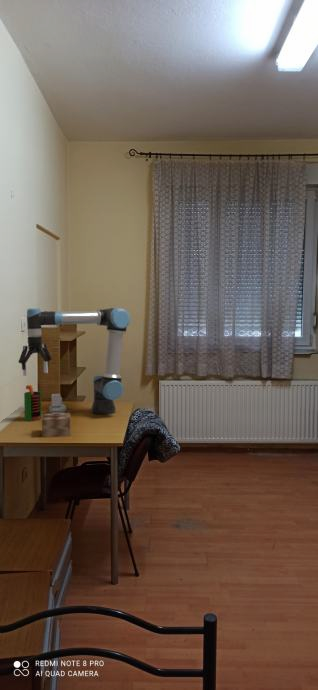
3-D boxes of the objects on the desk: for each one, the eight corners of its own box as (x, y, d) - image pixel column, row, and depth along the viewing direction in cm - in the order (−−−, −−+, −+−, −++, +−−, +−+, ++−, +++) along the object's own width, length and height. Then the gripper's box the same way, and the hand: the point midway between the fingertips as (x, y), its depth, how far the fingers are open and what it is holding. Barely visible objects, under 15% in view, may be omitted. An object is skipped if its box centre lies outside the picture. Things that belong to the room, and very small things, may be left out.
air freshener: (68, 412, 321) (67, 396, 321) (64, 415, 313) (64, 398, 312) (51, 411, 322) (50, 396, 322) (46, 414, 314) (46, 398, 313)
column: (61, 431, 272) (60, 393, 271) (61, 433, 268) (60, 395, 266) (52, 431, 272) (51, 394, 270) (52, 433, 267) (51, 395, 265)
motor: (35, 421, 296) (35, 387, 294) (21, 421, 298) (20, 386, 296) (43, 417, 306) (42, 384, 304) (29, 417, 308) (28, 384, 306)
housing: (70, 429, 278) (70, 410, 277) (70, 435, 264) (69, 416, 263) (43, 430, 276) (43, 411, 275) (42, 437, 262) (41, 417, 261)
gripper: (48, 334, 298) (50, 371, 300) (11, 337, 280) (12, 376, 281) (56, 335, 293) (58, 372, 295) (19, 337, 275) (20, 377, 276)
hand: (35, 374), depth 288 cm, fingers open, 13 cm apart
